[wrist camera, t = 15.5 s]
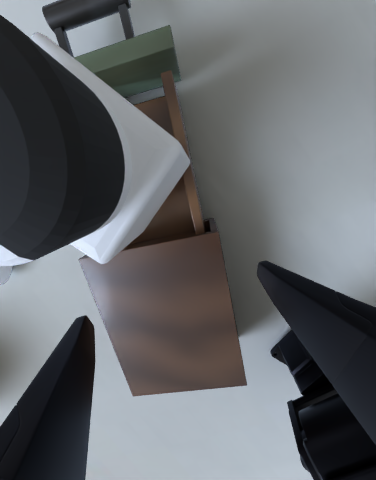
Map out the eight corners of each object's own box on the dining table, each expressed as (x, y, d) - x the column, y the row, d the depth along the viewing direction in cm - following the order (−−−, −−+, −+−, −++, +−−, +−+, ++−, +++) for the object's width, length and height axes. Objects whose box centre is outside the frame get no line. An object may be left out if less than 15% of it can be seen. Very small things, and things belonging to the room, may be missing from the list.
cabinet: (110, 239, 23) (78, 259, 17) (214, 217, 21) (218, 231, 15) (147, 349, 27) (132, 396, 21) (236, 338, 26) (247, 385, 20)
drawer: (46, 46, 17) (-7, 0, 13) (166, 3, 16) (152, -64, 12) (115, 251, 22) (94, 268, 18) (211, 232, 21) (213, 246, 17)
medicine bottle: (112, 98, 14) (-268, -253, 3) (192, 161, 15) (161, 97, 4) (70, 182, 16) (-260, 184, 5) (142, 233, 17) (17, 344, 5)
